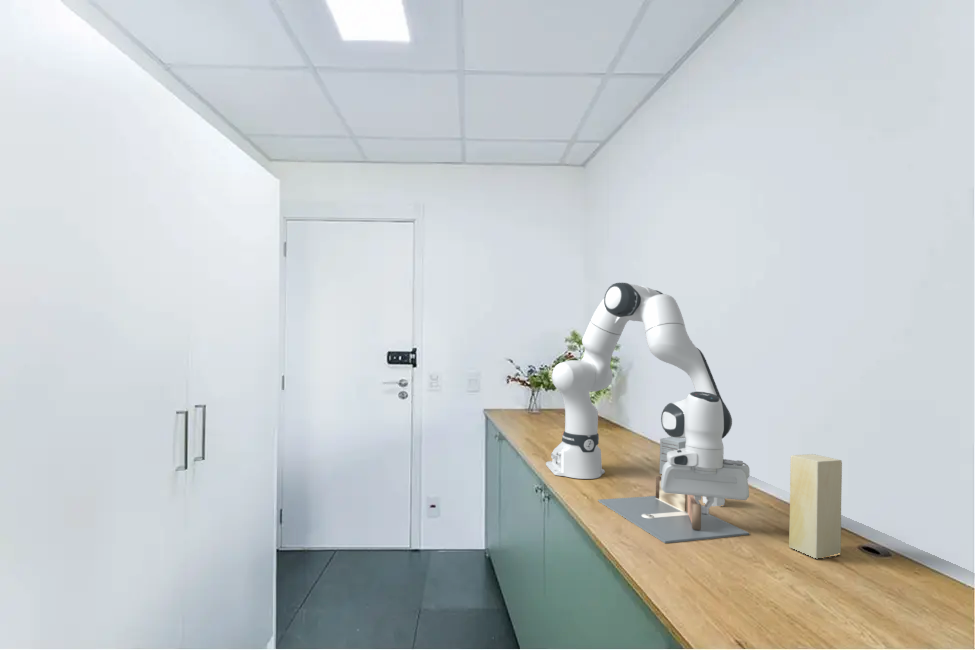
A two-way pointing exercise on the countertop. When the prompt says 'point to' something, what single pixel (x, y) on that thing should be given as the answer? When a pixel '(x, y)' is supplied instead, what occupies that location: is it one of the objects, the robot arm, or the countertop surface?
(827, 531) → the toy refrigerator
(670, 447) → the supplement box
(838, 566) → the countertop surface
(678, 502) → the fixed fence panel
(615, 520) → the countertop surface
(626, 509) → the card
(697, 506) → the hinged fence panel
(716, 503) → the white cup
